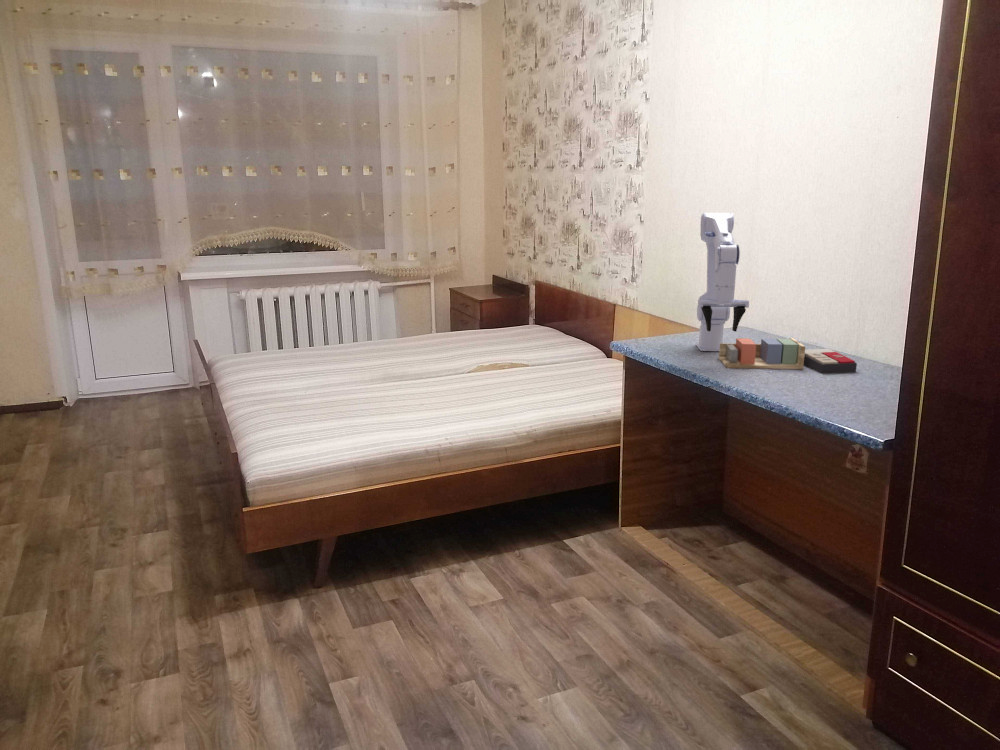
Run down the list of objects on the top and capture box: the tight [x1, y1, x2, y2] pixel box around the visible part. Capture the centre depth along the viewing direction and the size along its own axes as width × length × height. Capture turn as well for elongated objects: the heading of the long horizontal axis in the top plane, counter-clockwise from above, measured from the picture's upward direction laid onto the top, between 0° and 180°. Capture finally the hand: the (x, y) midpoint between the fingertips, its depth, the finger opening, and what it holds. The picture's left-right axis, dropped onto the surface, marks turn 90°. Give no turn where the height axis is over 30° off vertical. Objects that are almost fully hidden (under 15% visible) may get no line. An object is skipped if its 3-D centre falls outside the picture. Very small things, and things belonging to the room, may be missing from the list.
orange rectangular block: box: [735, 337, 757, 364], centre depth 228 cm, size 8×4×6 cm, turn 176°
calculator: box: [804, 348, 858, 374], centre depth 224 cm, size 11×4×15 cm
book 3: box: [775, 338, 798, 364], centre depth 227 cm, size 8×4×6 cm, turn 176°
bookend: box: [725, 345, 738, 363], centre depth 229 cm, size 7×2×4 cm, turn 176°
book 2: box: [760, 338, 782, 364], centre depth 227 cm, size 8×4×6 cm, turn 176°
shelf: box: [718, 337, 806, 370], centre depth 227 cm, size 12×22×7 cm, turn 86°
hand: (721, 330), depth 227 cm, fingers open, 7 cm apart
